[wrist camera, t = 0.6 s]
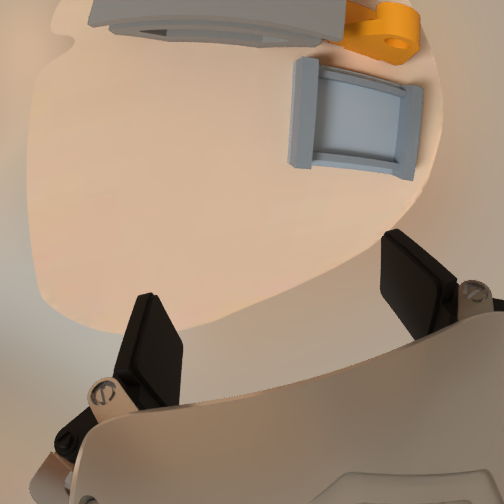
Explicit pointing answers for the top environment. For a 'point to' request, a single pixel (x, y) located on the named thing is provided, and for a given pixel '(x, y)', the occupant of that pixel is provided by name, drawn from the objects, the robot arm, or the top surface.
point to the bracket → (382, 31)
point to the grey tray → (353, 121)
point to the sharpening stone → (225, 21)
